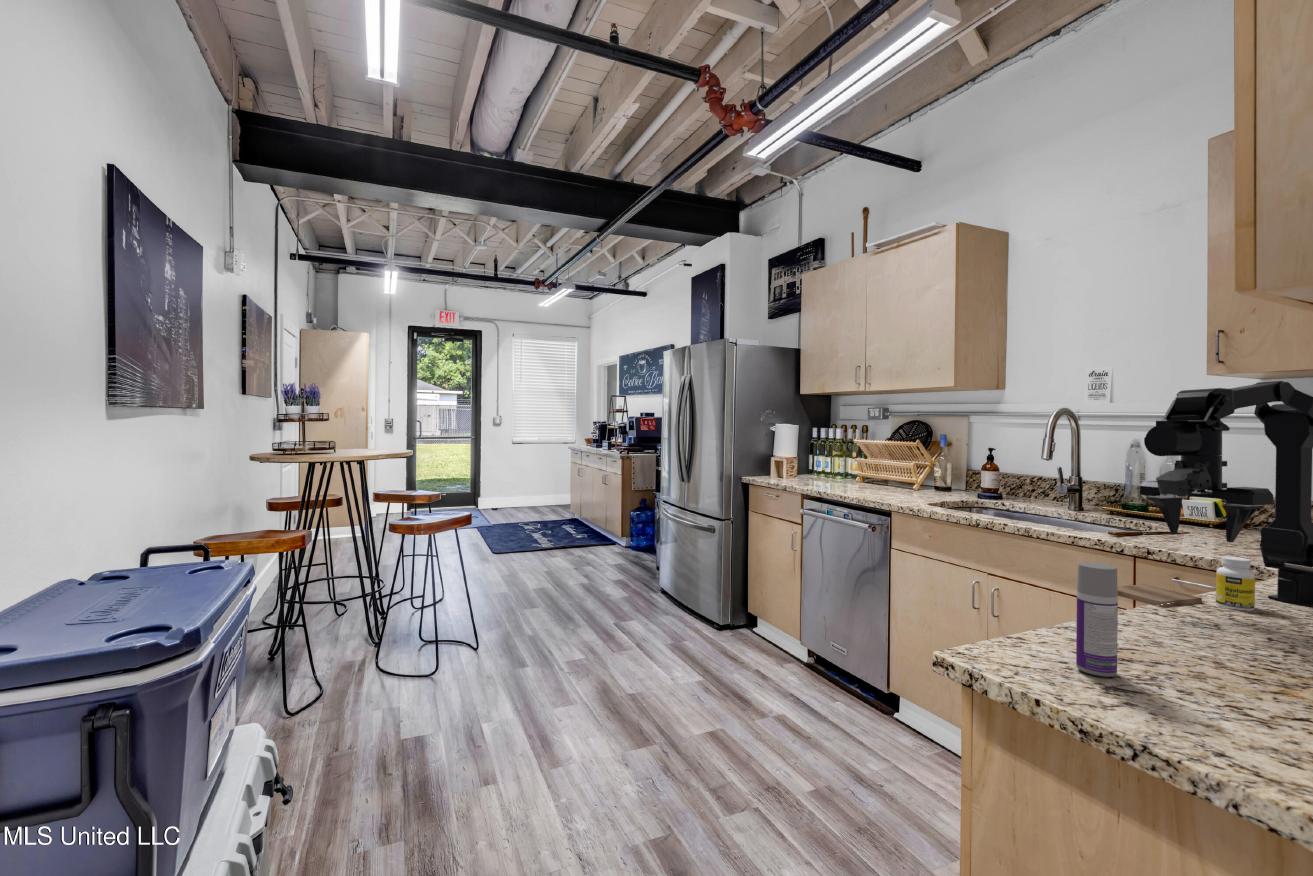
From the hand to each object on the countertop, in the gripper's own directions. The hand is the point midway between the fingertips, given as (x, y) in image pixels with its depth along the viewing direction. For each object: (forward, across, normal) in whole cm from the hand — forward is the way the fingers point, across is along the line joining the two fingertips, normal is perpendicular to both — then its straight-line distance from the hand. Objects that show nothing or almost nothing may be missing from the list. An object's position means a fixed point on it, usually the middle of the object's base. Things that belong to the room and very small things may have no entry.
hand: (1201, 537), depth 110 cm
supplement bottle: (+15, -1, +10) cm, 18 cm away
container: (+14, +16, -46) cm, 50 cm away
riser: (+15, -10, +2) cm, 18 cm away
